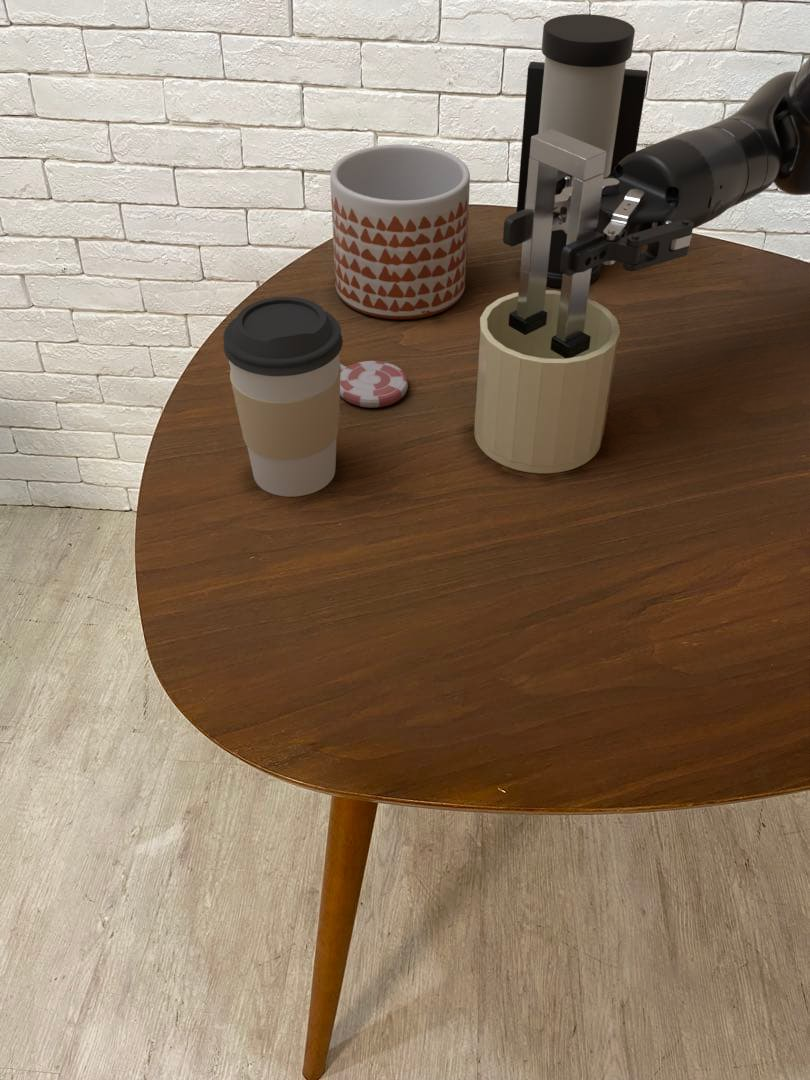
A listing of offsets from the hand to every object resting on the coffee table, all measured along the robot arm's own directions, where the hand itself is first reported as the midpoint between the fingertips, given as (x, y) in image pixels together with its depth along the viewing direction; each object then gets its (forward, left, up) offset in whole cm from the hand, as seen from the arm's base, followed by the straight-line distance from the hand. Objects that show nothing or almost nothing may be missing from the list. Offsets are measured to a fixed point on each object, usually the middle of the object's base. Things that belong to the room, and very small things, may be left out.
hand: (535, 247), depth 79 cm
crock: (-1, -2, -18) cm, 19 cm away
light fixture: (+4, -33, -19) cm, 38 cm away
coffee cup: (+17, +10, -19) cm, 27 cm away
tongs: (-1, -2, -9) cm, 9 cm away
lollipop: (+19, -5, -19) cm, 27 cm away
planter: (+19, -22, -19) cm, 35 cm away
